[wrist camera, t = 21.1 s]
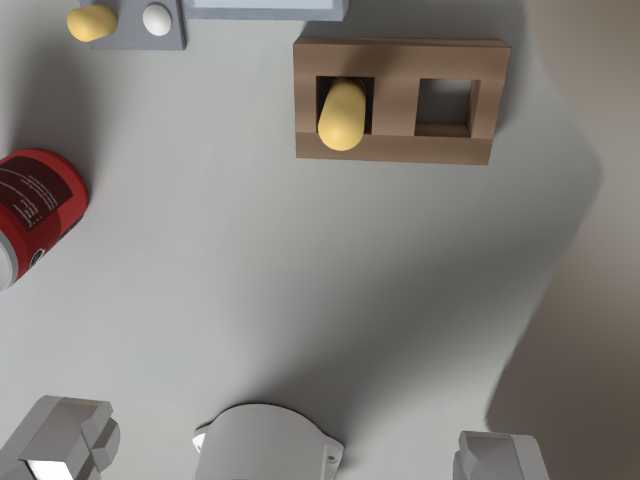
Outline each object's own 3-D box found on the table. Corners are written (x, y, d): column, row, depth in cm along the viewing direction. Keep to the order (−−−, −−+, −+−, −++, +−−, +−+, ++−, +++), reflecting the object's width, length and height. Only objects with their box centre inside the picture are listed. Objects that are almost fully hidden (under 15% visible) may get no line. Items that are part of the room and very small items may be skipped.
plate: (185, 49, 35) (167, 59, 32) (95, 47, 36) (68, 56, 32) (176, -13, 33) (156, -8, 30) (80, -13, 33) (51, -9, 30)
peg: (365, 112, 36) (362, 151, 29) (328, 111, 36) (318, 149, 30) (367, 74, 35) (365, 106, 28) (328, 73, 35) (317, 105, 28)
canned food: (21, 221, 45) (-71, 293, 36) (-6, 141, 41) (-118, 199, 31) (99, 229, 44) (26, 304, 35) (80, 149, 40) (-8, 210, 31)
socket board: (479, 150, 37) (487, 165, 34) (301, 143, 38) (296, 157, 35) (500, 39, 32) (511, 47, 30) (299, 36, 34) (293, 43, 31)
